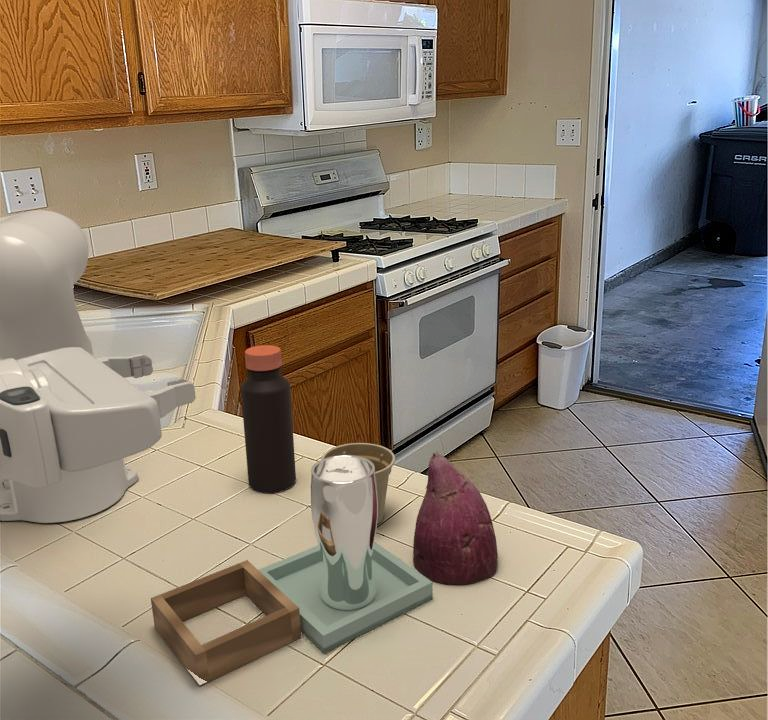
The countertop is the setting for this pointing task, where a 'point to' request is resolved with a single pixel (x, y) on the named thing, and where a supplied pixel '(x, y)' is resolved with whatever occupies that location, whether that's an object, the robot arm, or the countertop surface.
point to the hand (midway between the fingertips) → (169, 375)
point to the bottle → (267, 421)
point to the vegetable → (453, 529)
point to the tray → (336, 627)
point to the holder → (234, 645)
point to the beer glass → (345, 528)
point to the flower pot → (378, 457)
